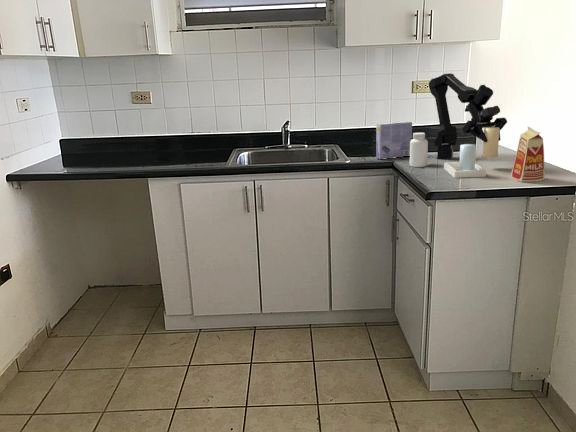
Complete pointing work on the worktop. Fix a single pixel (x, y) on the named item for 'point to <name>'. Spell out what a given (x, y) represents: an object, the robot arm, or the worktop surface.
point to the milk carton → (529, 158)
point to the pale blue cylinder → (467, 157)
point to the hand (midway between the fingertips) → (493, 141)
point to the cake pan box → (393, 140)
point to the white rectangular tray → (454, 171)
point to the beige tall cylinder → (491, 142)
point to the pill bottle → (418, 150)
